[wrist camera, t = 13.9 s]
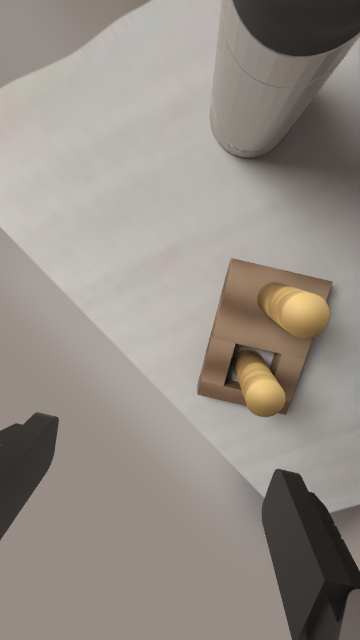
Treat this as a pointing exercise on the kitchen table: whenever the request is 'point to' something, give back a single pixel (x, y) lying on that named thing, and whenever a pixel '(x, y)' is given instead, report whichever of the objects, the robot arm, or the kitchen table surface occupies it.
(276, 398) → the pin
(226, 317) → the pin plate
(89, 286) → the kitchen table surface
